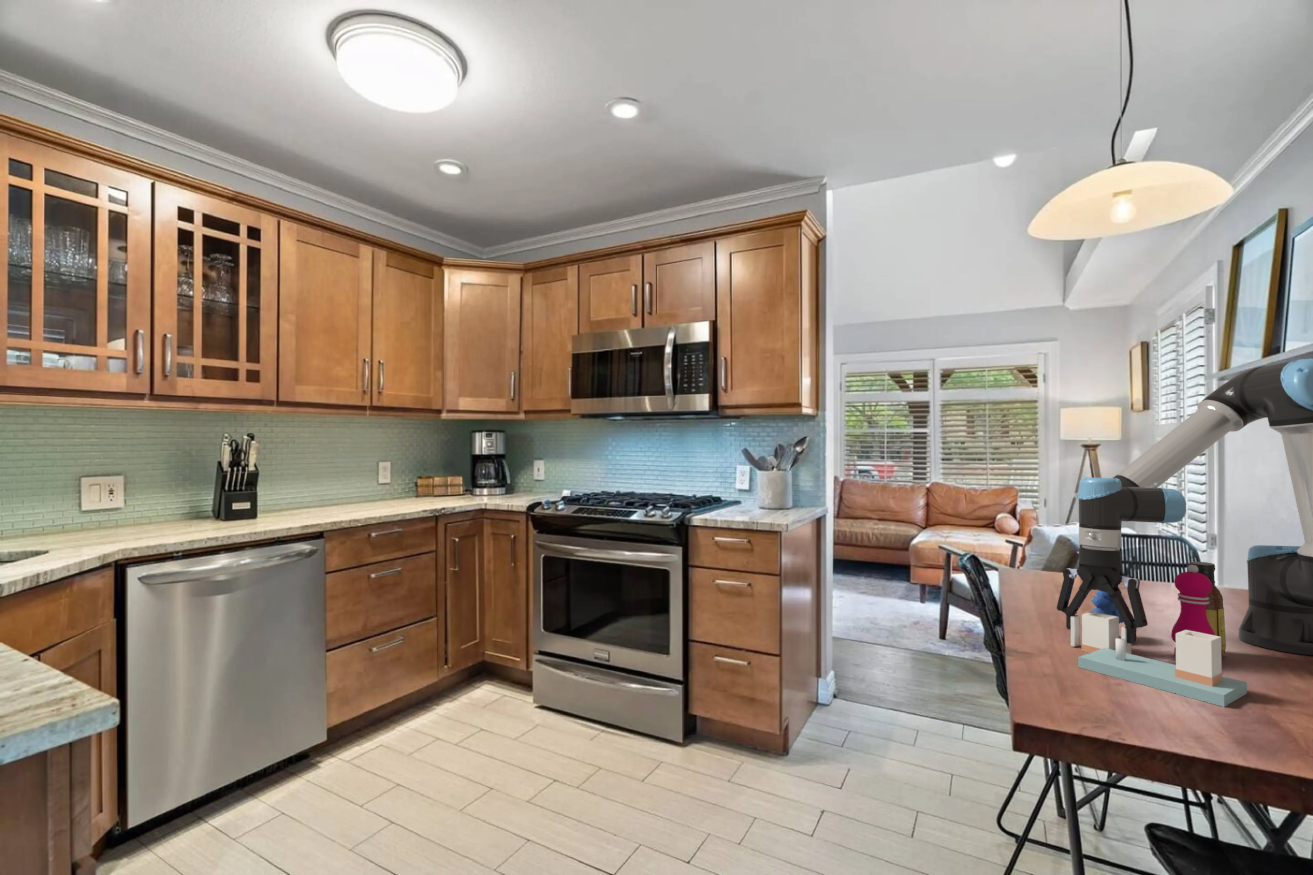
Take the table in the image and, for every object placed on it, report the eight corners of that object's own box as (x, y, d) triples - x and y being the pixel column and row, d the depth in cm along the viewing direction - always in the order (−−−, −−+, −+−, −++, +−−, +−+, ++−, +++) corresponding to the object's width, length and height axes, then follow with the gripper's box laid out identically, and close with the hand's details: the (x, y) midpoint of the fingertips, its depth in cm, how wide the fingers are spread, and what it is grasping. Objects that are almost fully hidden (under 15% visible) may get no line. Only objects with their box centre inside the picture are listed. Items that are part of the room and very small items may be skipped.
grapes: (1118, 648, 133) (1117, 594, 133) (1083, 639, 138) (1083, 588, 139) (1138, 639, 139) (1137, 588, 139) (1104, 632, 145) (1103, 583, 145)
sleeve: (1092, 647, 133) (1092, 611, 133) (1119, 653, 128) (1119, 616, 129) (1081, 650, 130) (1081, 614, 130) (1109, 657, 126) (1108, 619, 126)
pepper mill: (1177, 661, 124) (1176, 565, 125) (1167, 651, 131) (1166, 560, 131) (1222, 667, 121) (1221, 569, 122) (1210, 657, 127) (1208, 563, 128)
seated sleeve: (1185, 672, 112) (1185, 629, 112) (1222, 681, 108) (1221, 636, 108) (1175, 676, 109) (1174, 633, 110) (1212, 686, 105) (1211, 640, 105)
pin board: (1105, 657, 126) (1104, 628, 126) (1247, 693, 107) (1246, 659, 107) (1078, 666, 120) (1078, 636, 120) (1224, 706, 101) (1223, 671, 101)
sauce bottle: (1210, 650, 132) (1208, 560, 133) (1234, 659, 126) (1233, 565, 127) (1178, 648, 133) (1177, 559, 134) (1201, 657, 127) (1200, 564, 127)
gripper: (1038, 542, 137) (1038, 640, 136) (1153, 556, 119) (1154, 669, 118) (1054, 540, 141) (1054, 635, 140) (1168, 553, 123) (1169, 663, 122)
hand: (1099, 651), depth 129 cm, fingers open, 9 cm apart
